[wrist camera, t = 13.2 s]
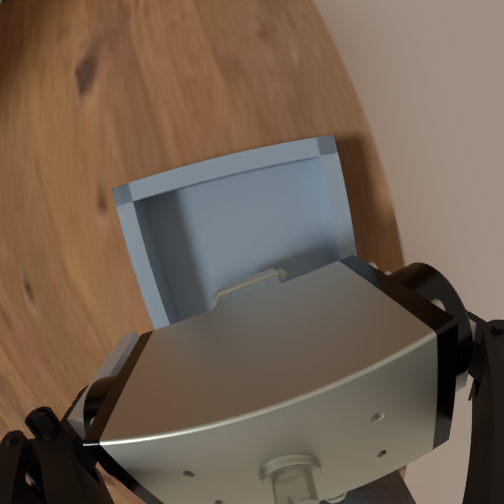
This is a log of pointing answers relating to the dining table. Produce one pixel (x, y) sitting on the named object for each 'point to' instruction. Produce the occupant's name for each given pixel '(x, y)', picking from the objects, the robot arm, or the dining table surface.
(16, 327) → the dining table surface
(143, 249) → the tray
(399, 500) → the box
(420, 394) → the pneumatic valve
